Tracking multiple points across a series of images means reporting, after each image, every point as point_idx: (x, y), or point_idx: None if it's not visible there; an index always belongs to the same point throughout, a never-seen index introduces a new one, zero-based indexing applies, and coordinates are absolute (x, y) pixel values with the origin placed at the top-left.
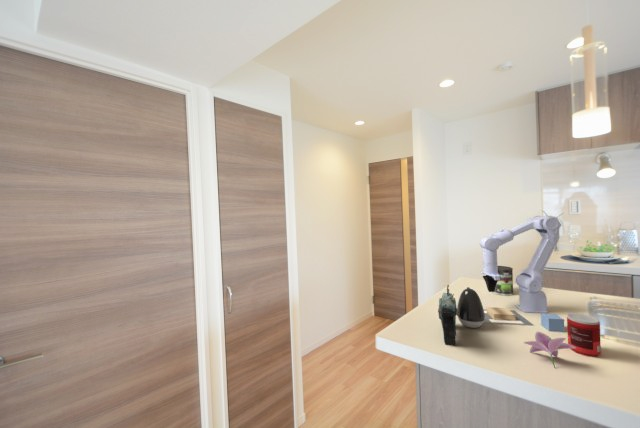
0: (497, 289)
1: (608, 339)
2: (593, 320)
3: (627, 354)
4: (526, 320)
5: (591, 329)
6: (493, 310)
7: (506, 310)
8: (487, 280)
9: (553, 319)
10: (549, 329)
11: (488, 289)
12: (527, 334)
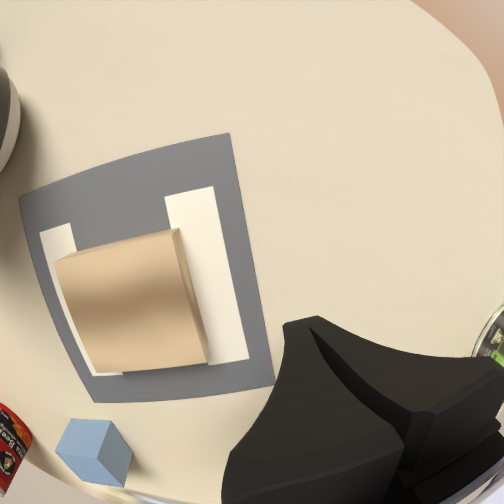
0: (501, 335)
1: (109, 490)
2: None
3: (50, 472)
4: (137, 397)
5: None
6: (114, 273)
7: (151, 352)
8: (239, 443)
9: (63, 460)
10: (69, 424)
11: (293, 329)
12: (6, 343)
